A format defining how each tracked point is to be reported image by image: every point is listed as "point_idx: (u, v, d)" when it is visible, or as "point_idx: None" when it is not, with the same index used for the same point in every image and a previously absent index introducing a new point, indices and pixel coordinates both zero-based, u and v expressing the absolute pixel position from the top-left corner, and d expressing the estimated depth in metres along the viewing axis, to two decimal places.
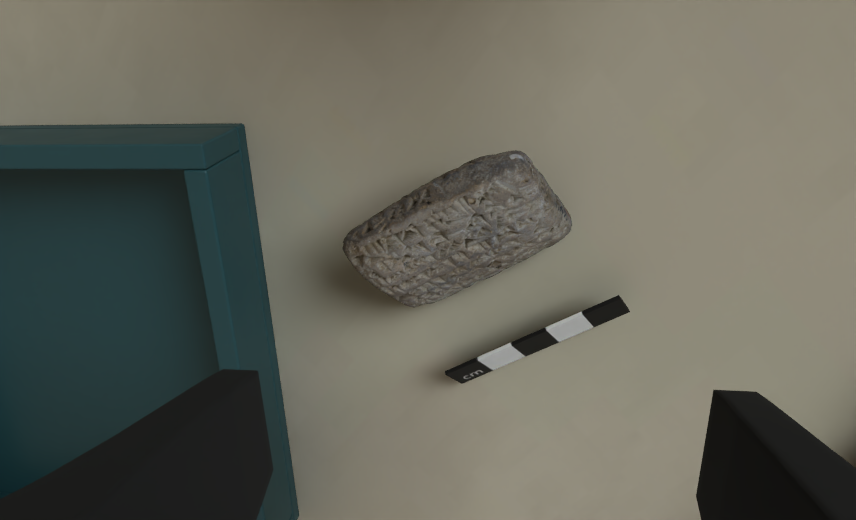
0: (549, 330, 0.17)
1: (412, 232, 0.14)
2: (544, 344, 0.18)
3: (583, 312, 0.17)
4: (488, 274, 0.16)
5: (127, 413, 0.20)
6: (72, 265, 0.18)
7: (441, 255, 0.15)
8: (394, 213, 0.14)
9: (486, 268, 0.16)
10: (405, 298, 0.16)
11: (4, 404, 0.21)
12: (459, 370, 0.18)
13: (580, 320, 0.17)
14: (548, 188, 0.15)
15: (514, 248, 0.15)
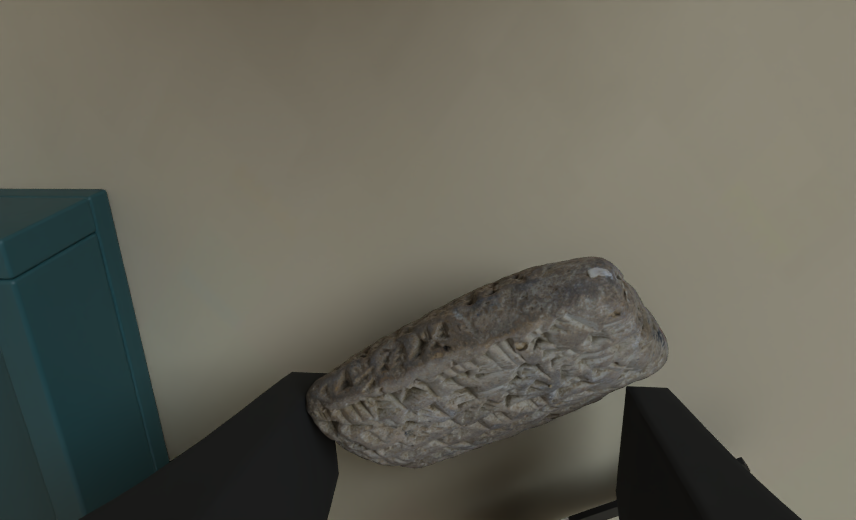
0: None
1: (418, 390, 0.09)
2: (617, 514, 0.12)
3: None
4: (536, 425, 0.10)
5: None
6: None
7: (466, 419, 0.09)
8: (388, 359, 0.09)
9: (535, 423, 0.10)
10: (408, 464, 0.10)
11: None
12: None
13: None
14: (642, 309, 0.09)
15: None
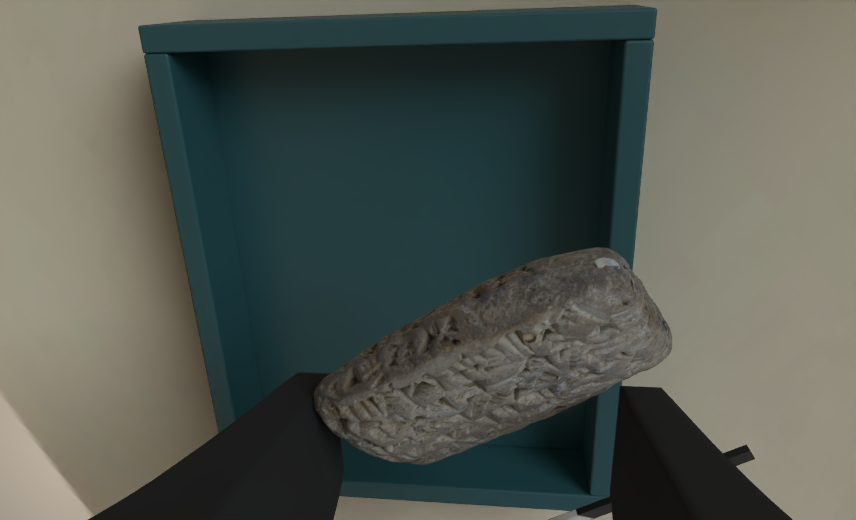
0: None
1: (427, 385, 0.09)
2: None
3: None
4: (543, 418, 0.10)
5: None
6: (408, 173, 0.17)
7: (474, 412, 0.09)
8: (396, 355, 0.09)
9: (542, 416, 0.10)
10: (415, 460, 0.10)
11: (295, 334, 0.19)
12: None
13: None
14: (647, 298, 0.09)
15: None
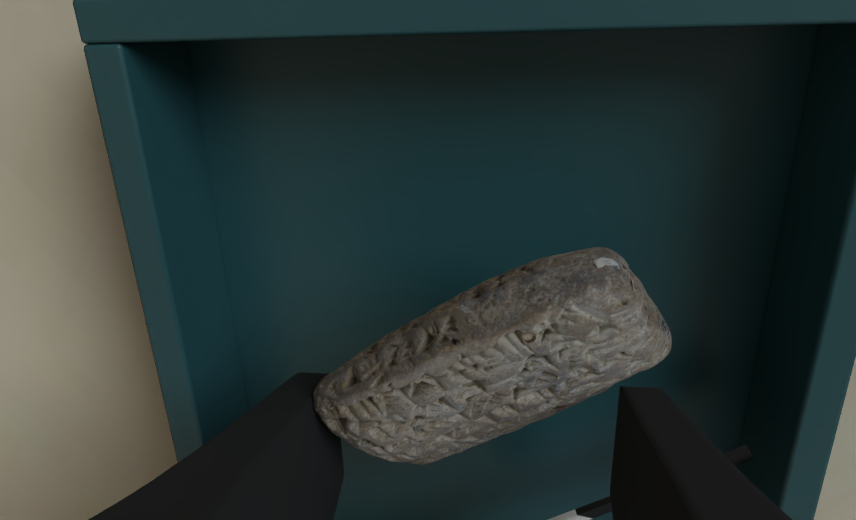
0: None
1: (427, 385, 0.09)
2: None
3: None
4: (542, 418, 0.10)
5: (511, 453, 0.13)
6: (485, 223, 0.12)
7: (473, 412, 0.09)
8: (396, 355, 0.08)
9: (542, 416, 0.10)
10: (415, 460, 0.10)
11: None
12: None
13: None
14: (647, 298, 0.09)
15: None
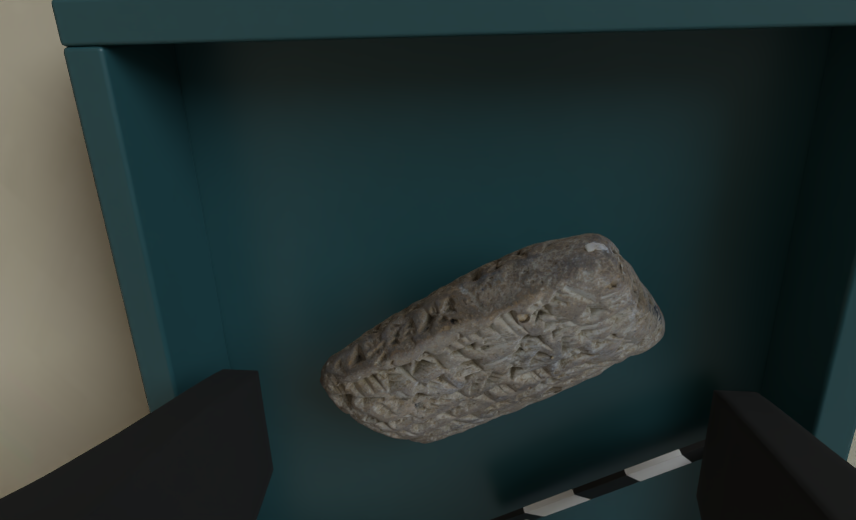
0: (630, 474, 0.11)
1: (427, 363, 0.09)
2: (619, 486, 0.12)
3: (682, 450, 0.11)
4: (540, 400, 0.11)
5: (511, 468, 0.13)
6: (484, 232, 0.11)
7: (472, 390, 0.10)
8: (398, 334, 0.09)
9: (538, 396, 0.11)
10: (418, 438, 0.11)
11: (307, 452, 0.13)
12: None
13: (676, 460, 0.11)
14: (638, 283, 0.09)
15: None
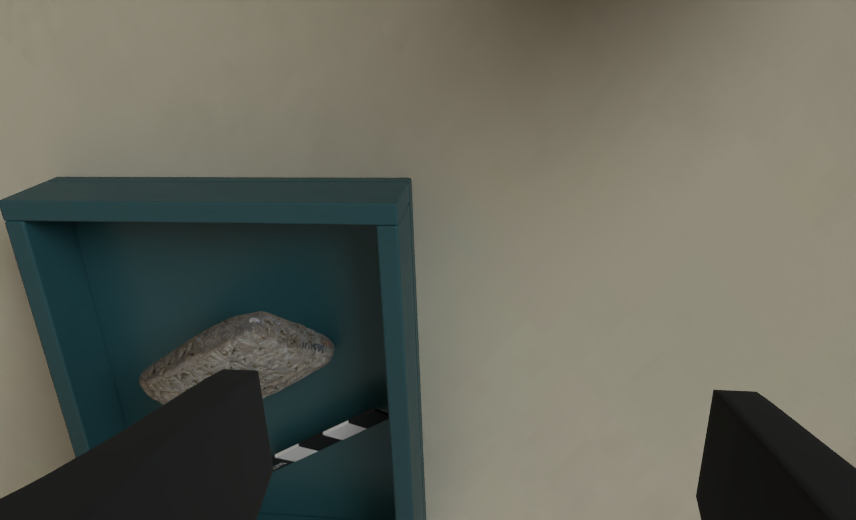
0: (326, 434, 0.21)
1: (185, 374, 0.18)
2: (329, 442, 0.21)
3: (349, 421, 0.20)
4: (269, 393, 0.20)
5: (277, 433, 0.22)
6: (240, 301, 0.20)
7: None
8: (170, 360, 0.18)
9: (263, 391, 0.20)
10: None
11: None
12: None
13: (350, 426, 0.21)
14: (297, 334, 0.19)
15: (279, 377, 0.19)
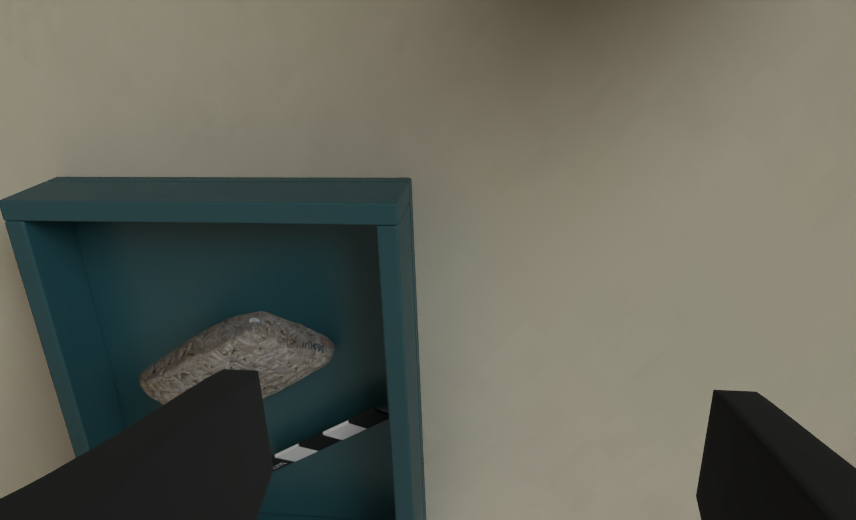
0: (326, 434, 0.21)
1: (185, 374, 0.18)
2: (329, 442, 0.21)
3: (349, 421, 0.20)
4: (269, 393, 0.20)
5: (277, 433, 0.22)
6: (240, 301, 0.20)
7: None
8: (170, 360, 0.18)
9: (263, 391, 0.20)
10: None
11: None
12: None
13: (350, 426, 0.21)
14: (297, 334, 0.19)
15: (279, 377, 0.19)
